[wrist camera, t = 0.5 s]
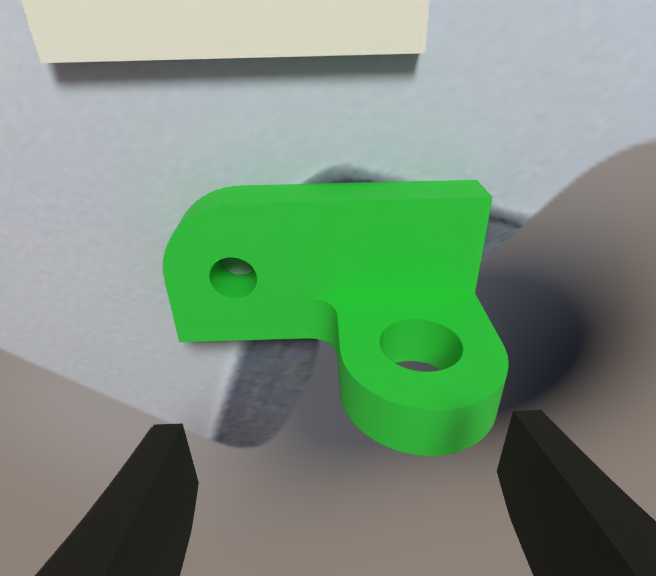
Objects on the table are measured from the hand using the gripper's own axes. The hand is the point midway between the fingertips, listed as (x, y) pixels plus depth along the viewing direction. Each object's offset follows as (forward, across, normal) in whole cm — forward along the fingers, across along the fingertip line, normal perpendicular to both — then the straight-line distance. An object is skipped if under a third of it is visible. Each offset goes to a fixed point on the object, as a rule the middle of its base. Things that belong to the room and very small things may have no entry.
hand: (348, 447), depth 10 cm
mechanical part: (+11, 0, 0) cm, 11 cm away
